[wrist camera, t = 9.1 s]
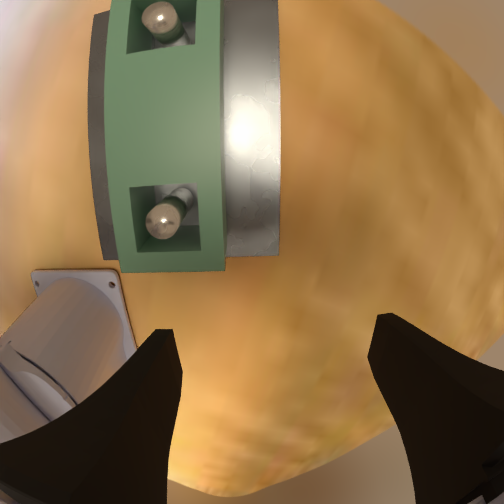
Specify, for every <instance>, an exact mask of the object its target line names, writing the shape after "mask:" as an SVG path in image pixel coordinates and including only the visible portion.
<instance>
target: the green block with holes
mask: <svg viewBox="0 0 504 504" xmlns="http://www.w3.org/2000/svg"><path fill="white" fill-rule="evenodd" d="M156 2H168V3H170V4H171V5H172V6H173V7H174V9H175V11H176V13H177V15H178V17H179V19H180V21H181V23H182V22H192V21H196V31H195V44H194V45H183V46H174V47H167V48H159V49H153V50H152V33H151V32H150V31H149V30H148V29H147V28H146V26H145V25H144V24H143V23H142V14H143V12H144V10H145V9H146V8H147V7H148V6H150V5H151V4H153V3H156ZM223 63H224V0H112V2H111V9H110V16H109V24H108V34H107V45H106V59H105V81H104V127H105V150H106V165H107V177H108V187H109V196H110V205H111V213H112V220H113V227H114V234H115V240H116V246H117V252H118V257H119V263H120V268H121V273H147V272H202V271H225V263H226V249H227V224H226V194H225V156H224V70H223ZM183 183H197V193H198V211H199V225H188V226H179V228H178V229H177V231H176V233H175V234H174V235H173V236H172V237H170V238H168V239H158V238H155V237H154V236H152V235H151V234H150V233H149V231H148V230H147V227H146V217H147V215H148V213H149V212H150V211H151V210H152V209H153V208H154V207H155V206H156V203H155V191H154V185H167V184H183Z"/></svg>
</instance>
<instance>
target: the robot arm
mask: <svg viewBox="0 0 504 504" xmlns="http://www.w3.org/2000/svg"><path fill="white" fill-rule="evenodd" d="M31 278H32V282H33V285H34V288H35V291H36V294H37V298H36V299H35V300H34V301H33V302H32V303H31V305H30V306H29V307H28V308H27V309H26V310H25V311H24V312H23V313H22V314H21V315H20V316H19V317H18V318H17V319H16V321H15V322H14V323H13V324H12V325H11V326H10V327H9V328H8V329H7V331H6V332H5V333H4V334H3V335H2V336H1V337H0V504H167V475H168V459H169V451H170V445H171V440H172V435H173V431H174V426H175V421H176V416H177V411H178V407H179V402H180V397H181V387H182V374H183V371H182V367H181V363H180V359H179V355H178V351H177V346H176V342H175V338H174V333H173V329H156V330H155V331H154V332H153V333H152V334H151V335H150V336H149V337H148V338H147V339H146V340H145V341H144V343H143V344H142V345H141V346H140V347H139V348H138V349H137V347H136V344H135V340H134V337H133V333H132V330H131V326H130V322H129V318H128V314H127V311H126V307H125V302H124V298H123V294H122V290H121V285H120V280H119V276H118V273H117V272H116V271H114V270H111V269H105V270H34V271H33V272H32V273H31ZM37 281H38V282H39V283H38V282H37ZM111 282H113V283H115V286H113V285H112V284H111ZM367 358H368V361H369V364H370V367H371V370H372V373H373V376H374V379H375V381H376V383H377V385H378V387H379V389H380V391H381V393H382V395H383V397H384V399H385V401H386V403H387V405H388V407H389V409H390V412H391V414H392V416H393V418H394V420H395V422H396V424H397V426H398V429H399V431H400V434H401V437H402V440H403V444H404V447H405V450H406V454H407V457H408V461H409V466H410V469H411V475H412V480H413V485H414V491H415V500H416V504H504V371H502V370H499V369H496V368H493V367H490V366H488V365H485V364H483V363H480V362H478V361H476V360H474V359H471V358H469V357H467V356H465V355H463V354H461V353H459V352H457V351H456V350H454V349H452V348H450V347H448V346H446V345H445V344H443V343H441V342H440V341H438V340H436V339H435V338H433V337H431V336H430V335H428V334H427V333H425V332H423V331H422V330H420V329H419V328H417V327H415V326H414V325H412V324H411V323H409V322H407V321H406V320H404V319H402V318H401V317H399V316H397V315H395V314H393V313H386V314H379V315H377V319H376V324H375V328H374V332H373V337H372V341H371V345H370V349H369V352H368V356H367Z"/></svg>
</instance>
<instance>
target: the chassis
mask: <svg viewBox="0 0 504 504" xmlns="http://www.w3.org/2000/svg"><path fill="white" fill-rule="evenodd" d="M109 16H110V10H109V11H105V12H102V13H99V14H95V15H94V19H93V26H92V35H91V45H90V57H89V73H88V139H89V156H90V169H91V180H92V189H93V198H94V205H95V213H96V220H97V226H98V232H99V238H100V244H101V249H102V254H103V259H104V260H119V257H118V252H117V246H116V240H115V234H114V227H113V220H112V213H111V205H110V196H109V187H108V177H107V165H106V150H105V127H104V81H105V59H106V45H107V34H108V24H109ZM142 23H143V24H144V25H145V26H146V28H147V29H148V30H149V31H150V32H151V33H152V50H153V49H159V48H167V47H174V46H183V45H194V44H195V31H196V21H192V22H182V23H181V21H180V19H179V17H178V15H177V13H176V11H175V9H174V7H173V6H172V5H171V4H170V3H168V2H156V3H153V4H151V5H150V6H148V7H147V8H146V9H145V10H144V12H143V14H142ZM223 70H224V156H225V194H226V224H227V249H226V257H243V256H277V255H279V228H280V56H279V21H278V0H224V63H223ZM154 191H155V203H156V206H155V207H154V208H153V209H152V210H151V211H150V212H149V213H148V215H147V217H146V227H147V230H148V231H149V233H150V234H151V235H152V236H154V237H155V238H158V239H168V238H170V237H172V236H173V235H174V234H175V233H176V231H177V229H178V228H179V226H188V225H199V211H198V193H197V183H183V184H167V185H154Z"/></svg>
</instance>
